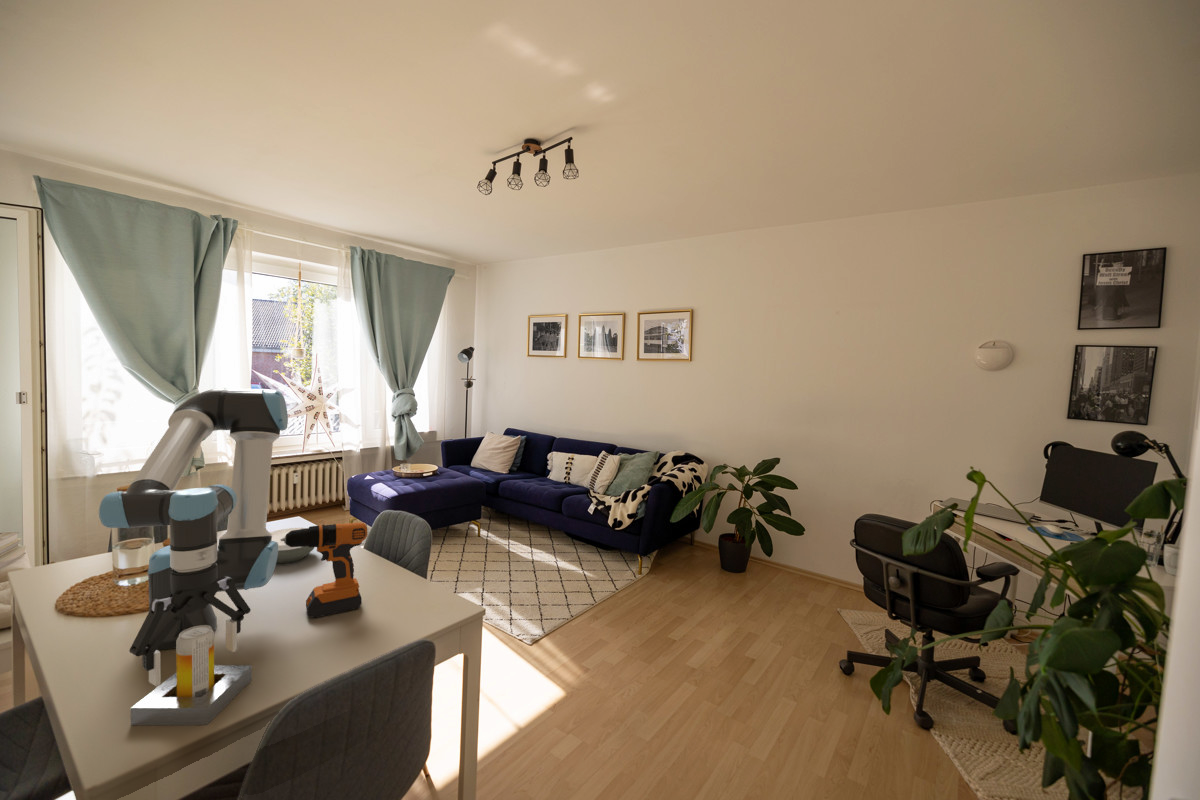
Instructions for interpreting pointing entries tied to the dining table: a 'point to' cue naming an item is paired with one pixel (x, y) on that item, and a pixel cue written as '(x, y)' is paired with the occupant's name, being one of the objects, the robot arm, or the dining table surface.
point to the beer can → (195, 661)
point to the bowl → (288, 547)
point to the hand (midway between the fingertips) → (195, 665)
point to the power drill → (336, 549)
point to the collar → (191, 699)
